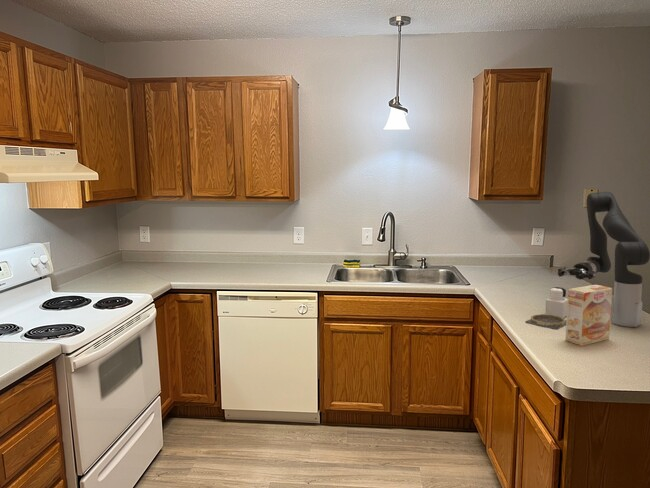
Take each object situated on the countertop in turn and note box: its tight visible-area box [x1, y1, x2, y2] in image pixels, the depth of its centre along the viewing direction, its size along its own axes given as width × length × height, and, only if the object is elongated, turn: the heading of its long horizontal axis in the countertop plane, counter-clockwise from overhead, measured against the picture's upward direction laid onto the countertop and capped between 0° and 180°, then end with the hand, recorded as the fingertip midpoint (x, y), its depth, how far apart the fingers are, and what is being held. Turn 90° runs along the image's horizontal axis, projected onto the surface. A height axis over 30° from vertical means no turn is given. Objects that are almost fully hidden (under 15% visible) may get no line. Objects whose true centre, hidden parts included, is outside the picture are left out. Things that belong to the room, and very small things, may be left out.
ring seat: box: [525, 313, 567, 330], centre depth 193 cm, size 13×13×2 cm
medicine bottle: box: [545, 286, 568, 319], centre depth 202 cm, size 7×7×12 cm
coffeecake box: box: [565, 284, 614, 347], centre depth 171 cm, size 15×7×20 cm, turn 114°
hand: (569, 275), depth 208 cm, fingers open, 8 cm apart
